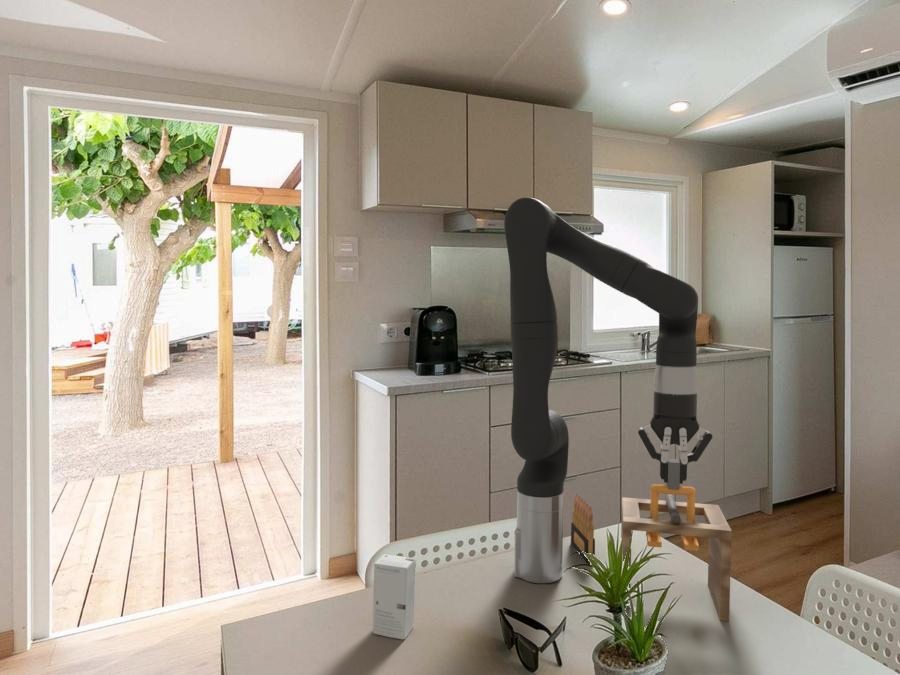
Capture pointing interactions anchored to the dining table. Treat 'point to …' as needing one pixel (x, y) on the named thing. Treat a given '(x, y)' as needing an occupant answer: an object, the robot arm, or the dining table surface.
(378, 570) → the skincare box
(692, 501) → the orange footed arch
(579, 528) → the ammunition clip
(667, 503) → the wooden frame stand
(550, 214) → the robot arm
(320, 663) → the dining table surface
